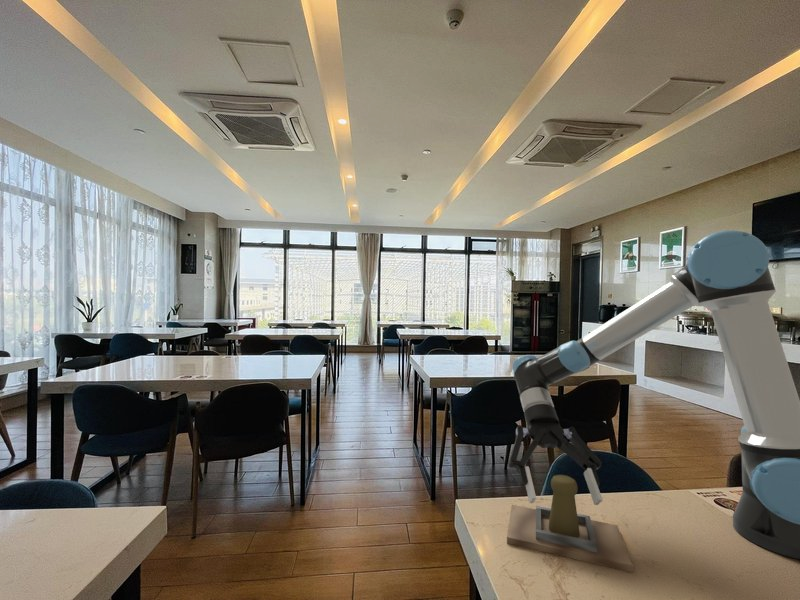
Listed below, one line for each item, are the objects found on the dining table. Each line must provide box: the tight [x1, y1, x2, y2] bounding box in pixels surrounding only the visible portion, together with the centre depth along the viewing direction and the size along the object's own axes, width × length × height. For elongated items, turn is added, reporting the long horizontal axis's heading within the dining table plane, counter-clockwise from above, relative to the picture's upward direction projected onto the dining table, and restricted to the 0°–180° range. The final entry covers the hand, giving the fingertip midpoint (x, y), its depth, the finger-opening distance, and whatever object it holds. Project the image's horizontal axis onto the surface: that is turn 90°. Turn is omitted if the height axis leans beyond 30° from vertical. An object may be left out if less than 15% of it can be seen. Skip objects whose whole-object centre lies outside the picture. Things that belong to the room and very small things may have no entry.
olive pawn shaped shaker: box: [549, 474, 580, 538], centre depth 76 cm, size 6×6×11 cm
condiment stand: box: [506, 504, 634, 573], centre depth 76 cm, size 22×14×3 cm, turn 69°
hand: (565, 501), depth 75 cm, fingers open, 13 cm apart
